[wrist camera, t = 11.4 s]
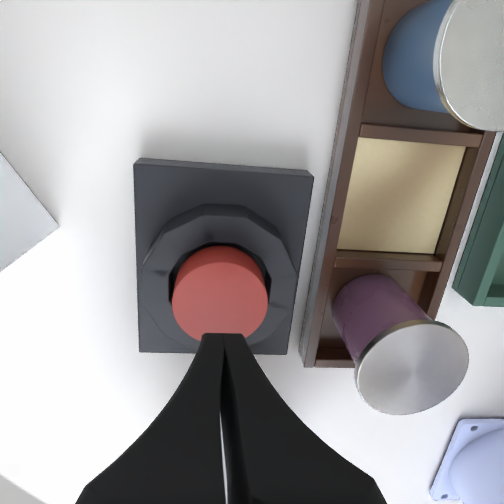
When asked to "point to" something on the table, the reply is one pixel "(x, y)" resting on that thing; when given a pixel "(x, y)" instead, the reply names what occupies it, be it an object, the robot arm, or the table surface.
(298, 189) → the button block
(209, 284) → the button
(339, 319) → the mauve pod
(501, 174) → the tray
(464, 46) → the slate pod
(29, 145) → the table surface
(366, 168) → the pod stand
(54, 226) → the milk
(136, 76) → the table surface
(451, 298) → the table surface
